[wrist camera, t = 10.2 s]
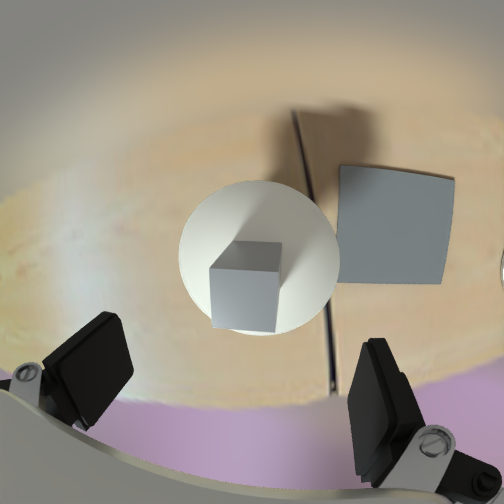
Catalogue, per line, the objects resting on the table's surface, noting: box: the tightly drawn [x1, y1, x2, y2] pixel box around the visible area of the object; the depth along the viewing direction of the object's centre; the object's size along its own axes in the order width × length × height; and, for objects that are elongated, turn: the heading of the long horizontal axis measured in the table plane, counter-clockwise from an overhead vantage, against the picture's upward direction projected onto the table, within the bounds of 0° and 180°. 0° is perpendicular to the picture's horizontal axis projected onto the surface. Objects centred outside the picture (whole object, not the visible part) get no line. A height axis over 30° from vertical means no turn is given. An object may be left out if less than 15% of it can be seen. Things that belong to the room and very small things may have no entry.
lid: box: [179, 180, 340, 336], centre depth 17 cm, size 12×12×7 cm
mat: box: [336, 165, 455, 284], centre depth 30 cm, size 16×14×1 cm
